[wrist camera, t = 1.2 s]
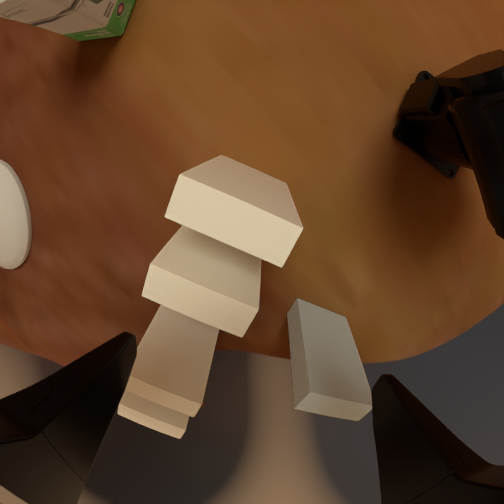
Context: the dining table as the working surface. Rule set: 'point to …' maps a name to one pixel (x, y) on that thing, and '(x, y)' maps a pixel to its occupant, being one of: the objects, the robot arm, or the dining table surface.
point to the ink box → (72, 16)
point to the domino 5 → (326, 364)
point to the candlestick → (13, 219)
